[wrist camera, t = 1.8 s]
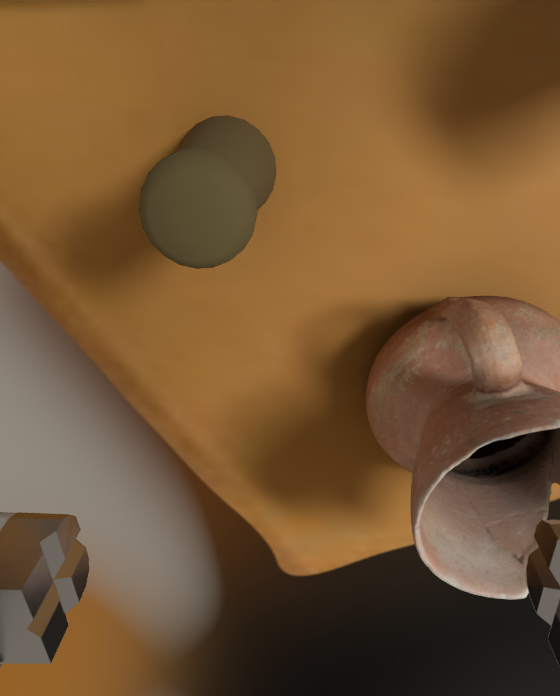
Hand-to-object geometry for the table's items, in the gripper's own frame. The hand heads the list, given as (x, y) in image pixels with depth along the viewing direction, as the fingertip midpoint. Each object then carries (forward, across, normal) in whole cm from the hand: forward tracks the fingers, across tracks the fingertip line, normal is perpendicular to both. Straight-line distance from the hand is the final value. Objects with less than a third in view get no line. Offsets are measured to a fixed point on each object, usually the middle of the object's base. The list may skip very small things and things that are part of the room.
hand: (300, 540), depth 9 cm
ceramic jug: (+27, -11, +11) cm, 31 cm away
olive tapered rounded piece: (+26, +5, -3) cm, 26 cm away
